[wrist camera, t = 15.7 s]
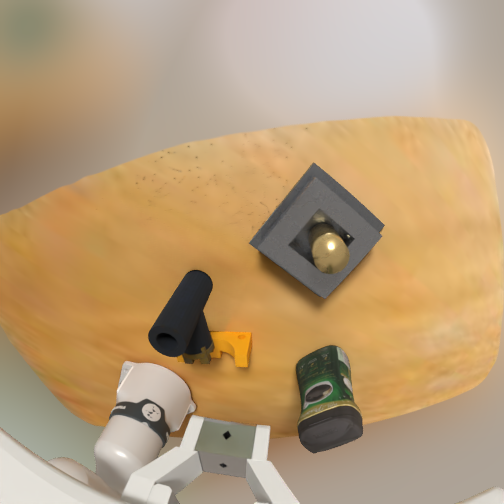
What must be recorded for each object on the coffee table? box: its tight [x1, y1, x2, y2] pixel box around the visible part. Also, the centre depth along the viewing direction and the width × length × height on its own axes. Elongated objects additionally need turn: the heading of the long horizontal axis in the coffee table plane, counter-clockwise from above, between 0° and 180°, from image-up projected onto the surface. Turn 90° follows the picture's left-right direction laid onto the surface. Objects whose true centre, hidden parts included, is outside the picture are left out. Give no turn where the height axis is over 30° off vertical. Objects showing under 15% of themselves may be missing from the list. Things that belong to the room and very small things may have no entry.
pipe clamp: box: [177, 331, 252, 367], centre depth 47 cm, size 12×4×6 cm, turn 93°
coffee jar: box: [296, 345, 363, 453], centre depth 40 cm, size 10×8×19 cm
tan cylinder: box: [308, 224, 350, 274], centre depth 37 cm, size 4×4×8 cm
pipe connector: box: [148, 270, 215, 364], centre depth 40 cm, size 12×5×15 cm, turn 9°
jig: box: [249, 163, 385, 299], centre depth 39 cm, size 15×14×5 cm
